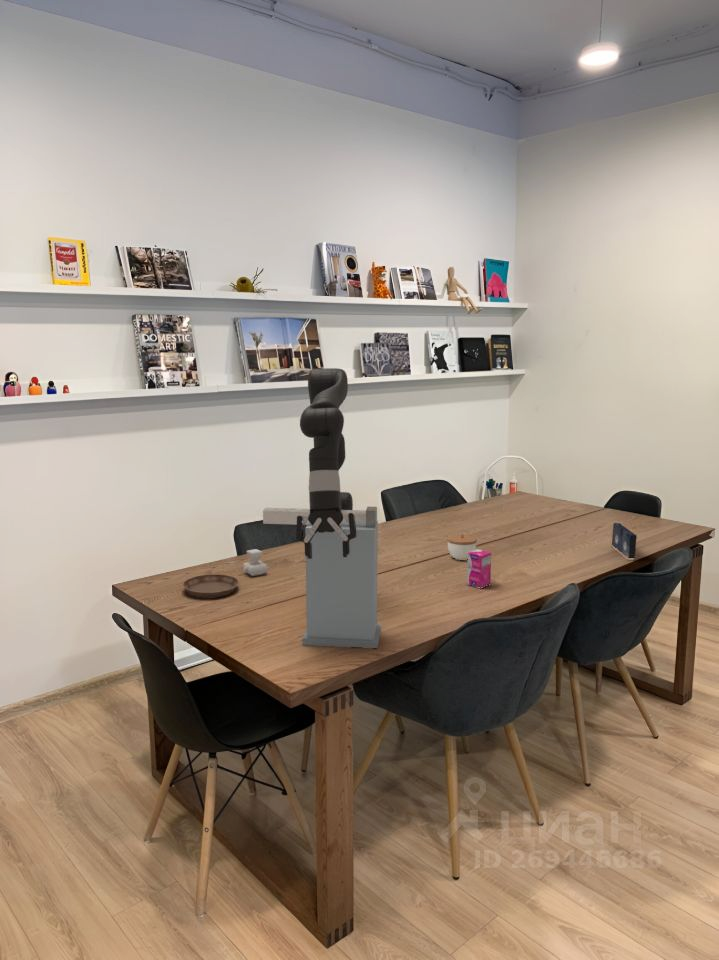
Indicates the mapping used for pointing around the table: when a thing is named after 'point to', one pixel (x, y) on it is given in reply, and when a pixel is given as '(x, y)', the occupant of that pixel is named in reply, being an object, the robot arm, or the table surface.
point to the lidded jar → (461, 545)
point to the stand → (342, 590)
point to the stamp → (255, 563)
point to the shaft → (290, 515)
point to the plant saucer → (210, 585)
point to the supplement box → (479, 568)
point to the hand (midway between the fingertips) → (327, 558)
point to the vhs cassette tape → (624, 540)
